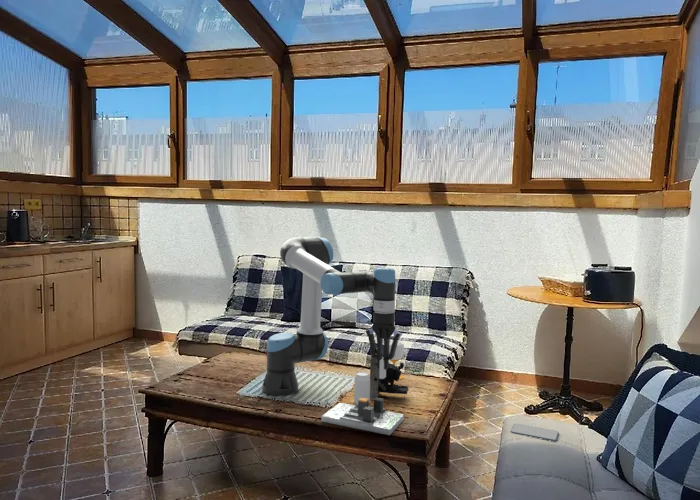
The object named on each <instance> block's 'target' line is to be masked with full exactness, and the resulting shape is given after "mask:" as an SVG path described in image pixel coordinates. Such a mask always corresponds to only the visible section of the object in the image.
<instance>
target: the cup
mask: <svg viewBox="0 0 700 500" xmlns="http://www.w3.org/2000/svg"><path fill="white" fill-rule="evenodd" d="M392 342H393V340H390V344H389V354H390V350H391V346H392ZM404 351H405V343H404V342H402V341H399V340H398V344H397V347H396V351H395V355H394V358H392V359H391V360H389V362H392V363H393V365H395V366H396V363H397V362H399V361H400V360H401V359H402V357H403V355H404ZM402 379H404V376H403V375H402V374H401V375H400V378H399V379H398V381H400V380H402Z"/></svg>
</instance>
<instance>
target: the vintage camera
mask: <svg viewBox="0 0 700 500" xmlns="http://www.w3.org/2000/svg"><path fill="white" fill-rule="evenodd" d="M382 356H383V357H384V350H383V351H382ZM404 367H405V363H404V362H399V365H398V366H396V364H395V365H393V364H392V363H390V362H389V367H388V369H386V377H385V378H384V379H379V368H377V359H376V358H375V357H372V354H371V355H370V370H369V377H370V399H371V400H373V401H374V399H375V398H376V397H377V398H378V397H379V394H380V393H383V394H395V395H396V394H398V395H403V396H404V399H406V398H405V396H406V395H407V394H408V391H409V386H407V385H399V384H395V381H396V382H398V381H399V380H398V379H399V378H400V375H402V374H401V373H402V370H403V369H404Z"/></svg>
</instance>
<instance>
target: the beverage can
mask: <svg viewBox="0 0 700 500" xmlns="http://www.w3.org/2000/svg"><path fill="white" fill-rule="evenodd" d="M355 374H356V375H355V377H354V383H353V384H354V388H353V389H354V390H353V391H354V392H353V393H354V394H353V402H354V403H355V404H358V400H359V399H360V398H367V399H369V403H371V401H370V399H371V398H370V373H368V372H366V371H358V372H356V373H355Z"/></svg>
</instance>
